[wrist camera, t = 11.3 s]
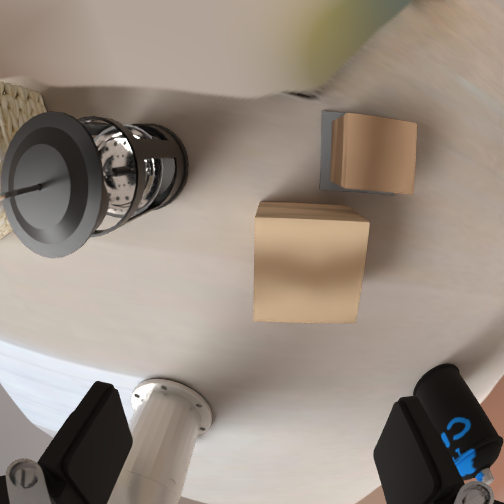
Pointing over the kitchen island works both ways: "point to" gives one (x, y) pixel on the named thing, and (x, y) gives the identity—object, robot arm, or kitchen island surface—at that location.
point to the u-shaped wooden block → (373, 153)
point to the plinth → (308, 262)
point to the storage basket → (14, 126)
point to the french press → (84, 178)
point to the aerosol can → (460, 422)
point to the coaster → (326, 156)
